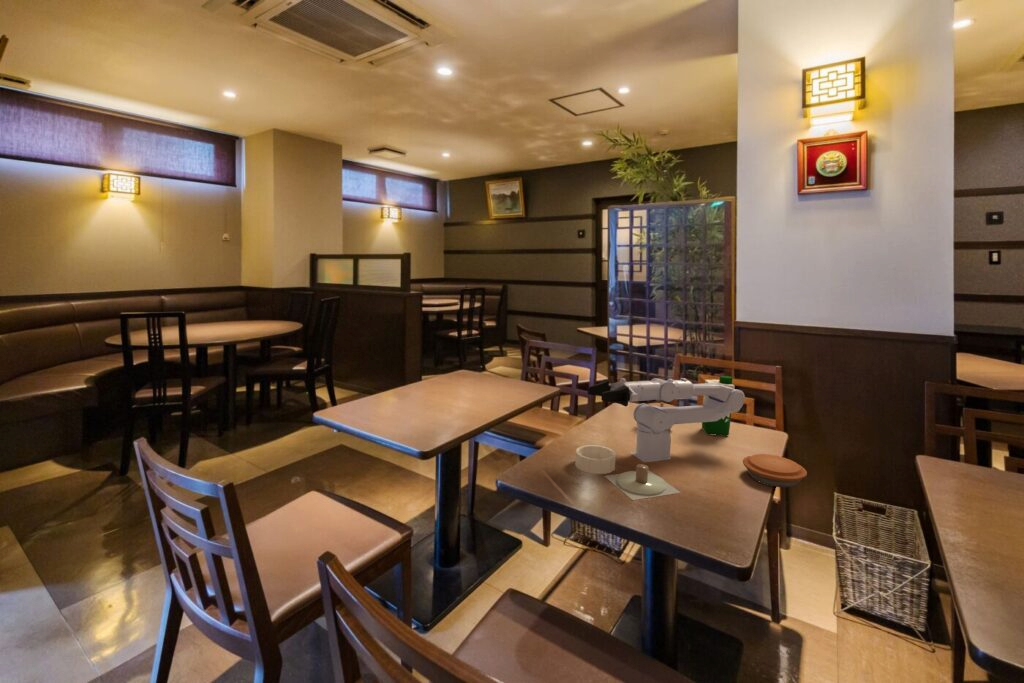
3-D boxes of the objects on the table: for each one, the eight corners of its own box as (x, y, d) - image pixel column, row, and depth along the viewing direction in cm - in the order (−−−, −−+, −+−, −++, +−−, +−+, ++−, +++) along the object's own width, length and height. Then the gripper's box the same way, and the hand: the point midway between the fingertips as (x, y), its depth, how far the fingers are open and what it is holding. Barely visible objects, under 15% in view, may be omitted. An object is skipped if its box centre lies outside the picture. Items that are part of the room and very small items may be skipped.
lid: (647, 471, 133) (648, 455, 133) (676, 491, 122) (677, 473, 121) (608, 477, 129) (609, 460, 129) (633, 498, 118) (634, 479, 117)
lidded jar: (678, 434, 165) (680, 408, 164) (645, 431, 167) (647, 405, 166) (674, 424, 176) (675, 399, 174) (643, 422, 178) (645, 397, 176)
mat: (648, 472, 134) (648, 469, 134) (680, 494, 121) (681, 492, 121) (604, 478, 130) (604, 476, 130) (632, 502, 117) (632, 500, 117)
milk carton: (732, 437, 163) (737, 380, 160) (704, 435, 165) (709, 378, 161) (724, 428, 172) (729, 374, 169) (698, 427, 173) (702, 373, 170)
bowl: (602, 457, 144) (603, 443, 143) (622, 472, 133) (623, 457, 133) (569, 461, 140) (569, 447, 140) (586, 477, 130) (587, 462, 129)
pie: (819, 491, 125) (821, 473, 124) (762, 492, 124) (764, 474, 123) (781, 466, 140) (783, 450, 139) (730, 467, 139) (732, 450, 138)
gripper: (622, 373, 146) (583, 374, 141) (652, 382, 132) (609, 384, 127) (621, 396, 146) (582, 398, 142) (650, 407, 133) (608, 410, 128)
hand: (595, 393), depth 135 cm, fingers open, 7 cm apart
